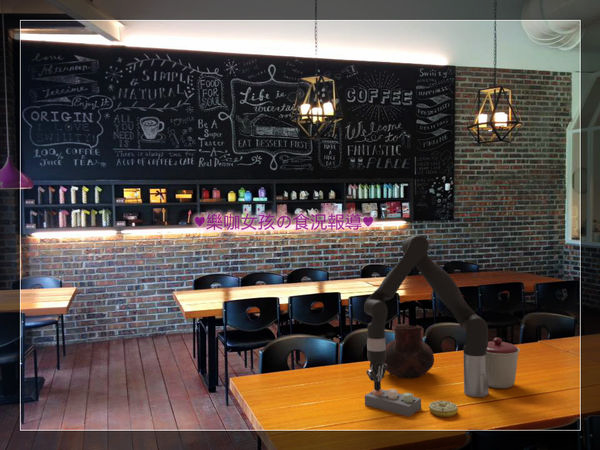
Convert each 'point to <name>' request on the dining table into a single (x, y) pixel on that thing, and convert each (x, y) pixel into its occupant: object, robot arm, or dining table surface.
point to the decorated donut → (443, 408)
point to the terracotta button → (377, 392)
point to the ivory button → (392, 394)
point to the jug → (408, 353)
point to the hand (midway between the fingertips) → (377, 389)
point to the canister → (501, 363)
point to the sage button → (408, 398)
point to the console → (393, 403)
